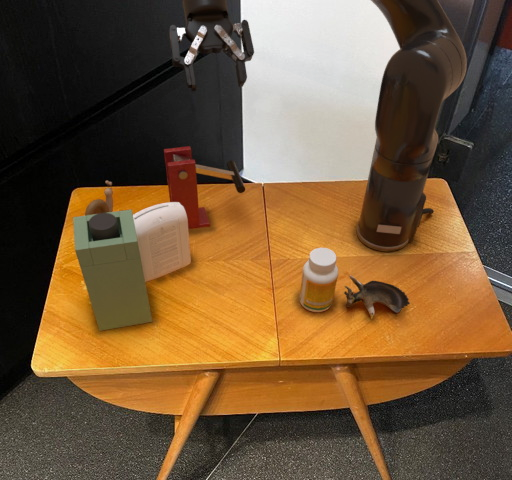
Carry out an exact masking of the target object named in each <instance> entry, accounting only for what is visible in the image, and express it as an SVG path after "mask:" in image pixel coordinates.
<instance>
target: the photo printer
mask: <svg viewBox="0 0 512 480" xmlns="http://www.w3.org/2000/svg"><path fill="white" fill-rule="evenodd" d="M133 219H134V224H135V229H136V235H137V240H138V246H139V251H140V256H141V262H142V267H143V272H144V278H145V283H147V282H150V281H153V280H156V279H158V278H161V277H163V276H166V275H168V274H171V273H174V272H175V271H178V270H181V269H183V268H185V267H188V266H189V265H190V264H191V263H192V258H191V247H190V234H189V229H188V219H187V214H186V211H185V209H184V207H183V206H182V205H181V204H180V203H179V202H170V201H168V202H162V203H158V204H154V205H151V206H148V207H146V208H143V209H141V210H139V211H137V212H135V213H133Z"/></svg>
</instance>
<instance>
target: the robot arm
mask: <svg viewBox="0 0 512 480" xmlns="http://www.w3.org/2000/svg"><path fill="white" fill-rule="evenodd" d="M370 1H371V2H372V4H374V5H375V7H376V8H377V9H378V10H379V11H380V13H382V15H383V16H384V18H385V20H386V22H387V23H388V25H389V27H390V29H391V31H392V33H393V35H394V38H395V40H396V43H397V45H398V48H399V49H398V50H397V51H396V52H394V53H393V54H392V56H391V57H390V59H389V60H388V61H387V64H386V66H385V68H384V70H383V75H382V78H381V83H380V86H379V87H380V88H379V93H378V100H377V106H376V113H375V119H374V131H375V136H376V137H375V138H376V139H375V143H374V149H373V153H372V156H371V162H370V167H369V172H368V177H367V182H366V186H365V191H364V196H363V201H362V205H361V210H360V216H359V219H358V223H357V227H356V236H357V238H358V239H359V241H360V242H361V244H363V245H365V246H366V247H367V248H370V249H372V250H376V251H379V252H395V251H399V250H401V249H403V248H405V247H407V245H408V244H409V243H413V242H414V238H415V236H416V233H417V229H418V228H419V227H420V224H421V221H422V218H423V215H426V214H427V215H428V214H429V215H432V214H434V212H435V210H434V209H433V208H431V207H426V208H425V204H426V201H427V195H426V194H425V192H424V190H425V186H426V183H427V180H428V176H429V173H430V170H431V166H432V164H433V160H434V156H435V153H436V150H437V147H438V144H439V134H438V132H437V130H436V126H437V121H438V117H439V113H440V111H441V108H442V104H443V102H444V101H445V100H446V99H447V98H448V97H450V96H451V95H452V94H453V93H454V92H455V91H456V90H457V89H459V87H460V86H461V84H462V82H463V81H464V80H465V79H464V78H465V77H466V74H467V66H468V64H467V63H468V62H467V61H468V59H467V54H466V49H465V46H464V45H463V42H462V40H461V38H460V36H459V34H458V33H457V31H456V29H455V28H454V26H453V24H452V22H451V21H450V18H449V17H448V16H447V13H446V11H444V8H443V7H442V5H441V3H440V1H439V0H370ZM181 2H182V8H183V14H184V20H185V27H177V26H176V25H175V24H171V25H170V26H169V35H168V36H169V45H170V53H171V62H172V63H171V64H172V66H173V67H174V68H182V69H183V72H184V76H185V77H184V78H185V84H186V87H187V88H188V89H190V91H191V92H196V91H197V83H196V76H195V69H194V65H193V63H194V61H196V58H197V56H198V55H199V53H200V54H202V55H204V56H205V55H209V54H221V53H222V52H223V53H224V54H225V55H226V56H227V57H228V58H230V59H231V60H232V61H233V62H234V63H235V71H236V73H235V74H236V78H237V79H236V80H237V86H238V87H239V88H243V87H244V85H245V84H246V82H247V79H248V73H247V67H246V62H250V61H252V59H253V57H254V54H255V48H254V44H253V39H252V33H251V30H250V25H249V21H248V20H247V19H243V20H241V22H237V23H232V22H231V20H230V15H229V9H228V4H227V3H228V2H227V0H181ZM233 33H235V34H236V36H237V38H240V41H241V44H242V49H243V51H242V50H241V49H240V48H239V47H238V46H237V45H238V44H237V43H236V42H235V41H234V39H232V35H233ZM184 36H185V38H186V40H187V41H189V43H190V44H191V45H190V47H189V49H188V51H187V53H186V55H185V57H184V56H181V54H180V53H181V52H180V44H179V43H182V41H183V37H184Z"/></svg>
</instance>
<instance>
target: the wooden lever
mask: <svg viewBox="0 0 512 480" xmlns="http://www.w3.org/2000/svg"><path fill="white" fill-rule="evenodd" d="M185 160H190V159H189V157H185V156H180V155H175V154H173V156H172V159H171V162H176V161H185ZM195 164H196V174H199V175H203V176H210V177H214V178H220V179H225V180H230V181H232V182H233V185H234V187H235V189H236V192H237V193H238V194H244V192H245V191H246V186H245V185H244V182H243V179H242V177H241V175H240V171H239V169H238V167H237V165H236V162H235V161H234V160H232V159H231V160H228V161H227V162H226V167H227V169H228V170H227V169H223V168H217V167H212V166H207V165H202V164H197V163H195Z"/></svg>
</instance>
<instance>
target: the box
mask: <svg viewBox="0 0 512 480" xmlns="http://www.w3.org/2000/svg"><path fill="white" fill-rule="evenodd" d="M108 213H110V214H112V215H114V216H115V217H116V220H117V224H118V229H119V234H120V238H113V239H106V240H99V241H93V238H92V234H91V230H90V226H89V220H90V219H91V217H93V216H94V215H96V214H93V215H86V216H85V215H80V216H73V217H72V225H73V227H72V228H73V239H74V240H73V241H74V251H75V255H76V259H77V262H78V265H79V268H80V271H81V274H82V277H83V281H84V285H85V288H86V291H87V295H88V297H89V301H90V304H91V308H92V310H93V314H94V317H95V320H96V323H97V327H98V330H99V332H100V331H101V332H102V331H106V330H107V331H108V330H113V329H120V328H124V327H131V326H137V325H142V324H148V323H153V317H152V311H151V307H150V306H151V305H150V300H149V295H148V289H147V282H145V278H144V272H143V267H142V262H141V256H140V251H139V246H138V240H137V235H136V229H135V224H134V219H133V215H134V213H133V209H125V210H117V211H116V210H115V211H113V212H108Z"/></svg>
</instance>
